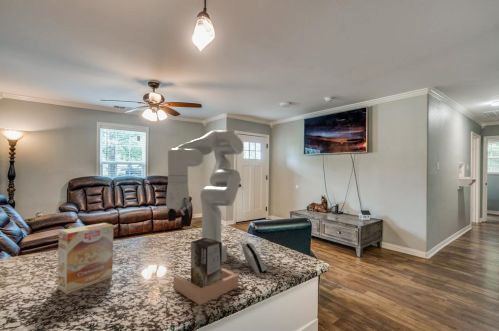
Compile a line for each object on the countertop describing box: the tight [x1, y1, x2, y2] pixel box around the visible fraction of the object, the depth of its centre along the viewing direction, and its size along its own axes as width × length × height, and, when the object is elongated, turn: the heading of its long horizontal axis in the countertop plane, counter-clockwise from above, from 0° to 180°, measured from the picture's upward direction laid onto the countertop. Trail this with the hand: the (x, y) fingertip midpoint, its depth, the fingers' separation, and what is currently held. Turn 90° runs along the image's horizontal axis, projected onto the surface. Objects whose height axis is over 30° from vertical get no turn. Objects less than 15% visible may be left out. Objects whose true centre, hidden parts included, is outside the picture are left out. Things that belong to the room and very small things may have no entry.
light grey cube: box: [222, 245, 228, 263], centre depth 108 cm, size 6×6×6 cm
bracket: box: [172, 267, 240, 306], centre depth 84 cm, size 15×16×4 cm
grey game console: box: [241, 242, 269, 275], centre depth 103 cm, size 17×5×10 cm, turn 16°
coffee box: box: [190, 237, 223, 288], centre depth 82 cm, size 9×6×16 cm
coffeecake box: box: [57, 222, 114, 295], centre depth 86 cm, size 15×7×20 cm, turn 148°
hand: (178, 222), depth 98 cm, fingers open, 9 cm apart
